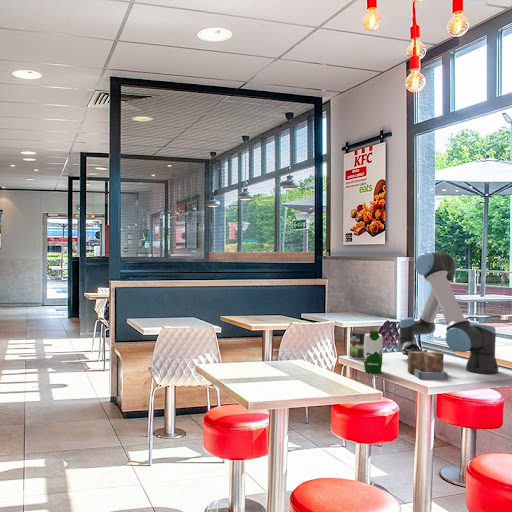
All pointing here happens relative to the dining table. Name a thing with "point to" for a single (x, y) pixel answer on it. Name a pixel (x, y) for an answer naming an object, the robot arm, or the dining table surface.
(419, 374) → the tray
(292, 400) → the dining table surface
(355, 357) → the coffee can
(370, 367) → the milk carton
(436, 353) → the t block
